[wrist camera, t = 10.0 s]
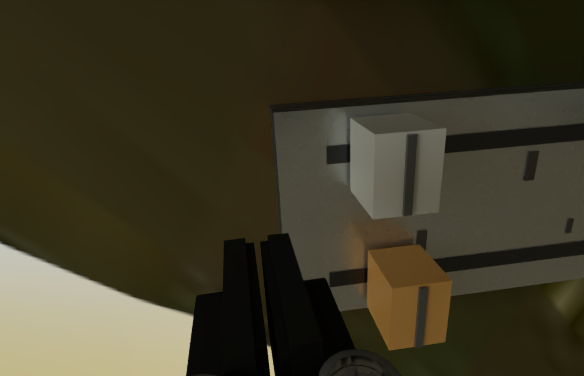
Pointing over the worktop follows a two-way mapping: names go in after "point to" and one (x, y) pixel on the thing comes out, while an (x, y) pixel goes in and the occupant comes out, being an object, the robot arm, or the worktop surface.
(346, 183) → the console
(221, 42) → the worktop surface
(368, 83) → the worktop surface
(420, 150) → the fader white
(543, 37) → the worktop surface
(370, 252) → the fader orange
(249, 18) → the worktop surface
